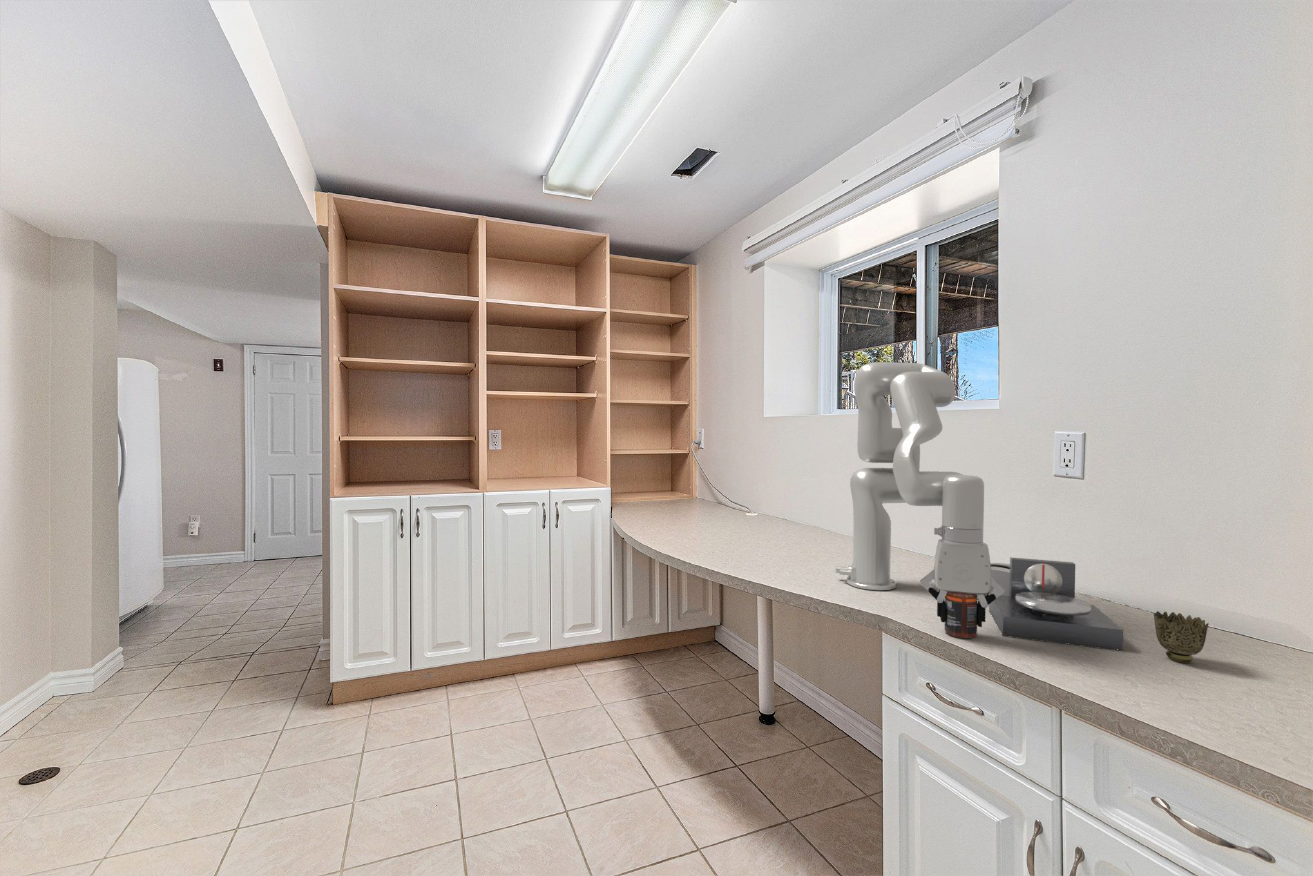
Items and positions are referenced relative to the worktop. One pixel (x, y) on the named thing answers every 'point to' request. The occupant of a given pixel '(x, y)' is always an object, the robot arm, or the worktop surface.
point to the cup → (1180, 635)
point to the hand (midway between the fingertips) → (960, 621)
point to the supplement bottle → (961, 614)
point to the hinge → (1001, 576)
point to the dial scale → (1051, 607)
